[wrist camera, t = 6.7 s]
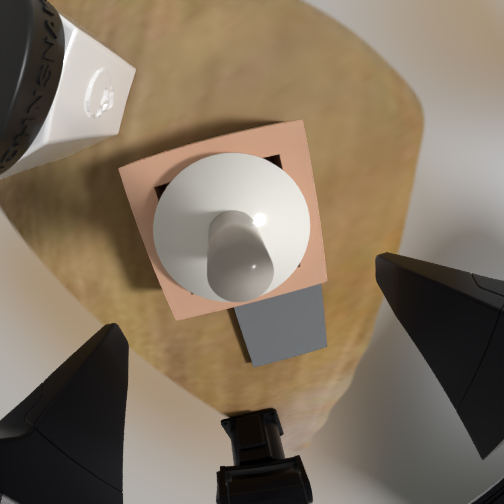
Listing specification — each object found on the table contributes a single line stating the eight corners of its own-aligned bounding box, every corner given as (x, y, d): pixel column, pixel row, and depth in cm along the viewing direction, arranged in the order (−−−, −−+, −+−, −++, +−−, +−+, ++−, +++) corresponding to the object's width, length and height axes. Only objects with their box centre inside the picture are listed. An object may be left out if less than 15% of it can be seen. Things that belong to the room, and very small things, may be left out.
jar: (115, 166, 17) (5, 224, 6) (24, 152, 15) (-95, 194, 4) (150, 41, 14) (80, -49, 3) (53, 38, 12) (-55, -1, 1)
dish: (308, 255, 22) (327, 281, 18) (181, 288, 22) (176, 320, 18) (284, 121, 18) (302, 119, 14) (136, 160, 17) (118, 168, 14)
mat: (324, 342, 26) (327, 346, 25) (252, 362, 26) (253, 367, 25) (315, 259, 22) (318, 263, 21) (226, 283, 22) (227, 287, 21)
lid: (314, 274, 18) (347, 324, 13) (183, 308, 18) (177, 368, 13) (290, 136, 14) (328, 141, 10) (135, 178, 14) (101, 202, 9)
